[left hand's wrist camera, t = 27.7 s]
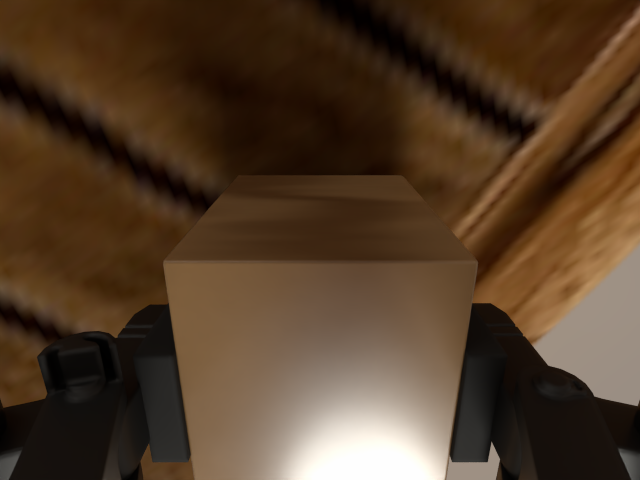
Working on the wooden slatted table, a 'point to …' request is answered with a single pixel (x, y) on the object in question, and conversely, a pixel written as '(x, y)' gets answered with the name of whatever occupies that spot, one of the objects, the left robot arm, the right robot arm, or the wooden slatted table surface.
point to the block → (320, 330)
